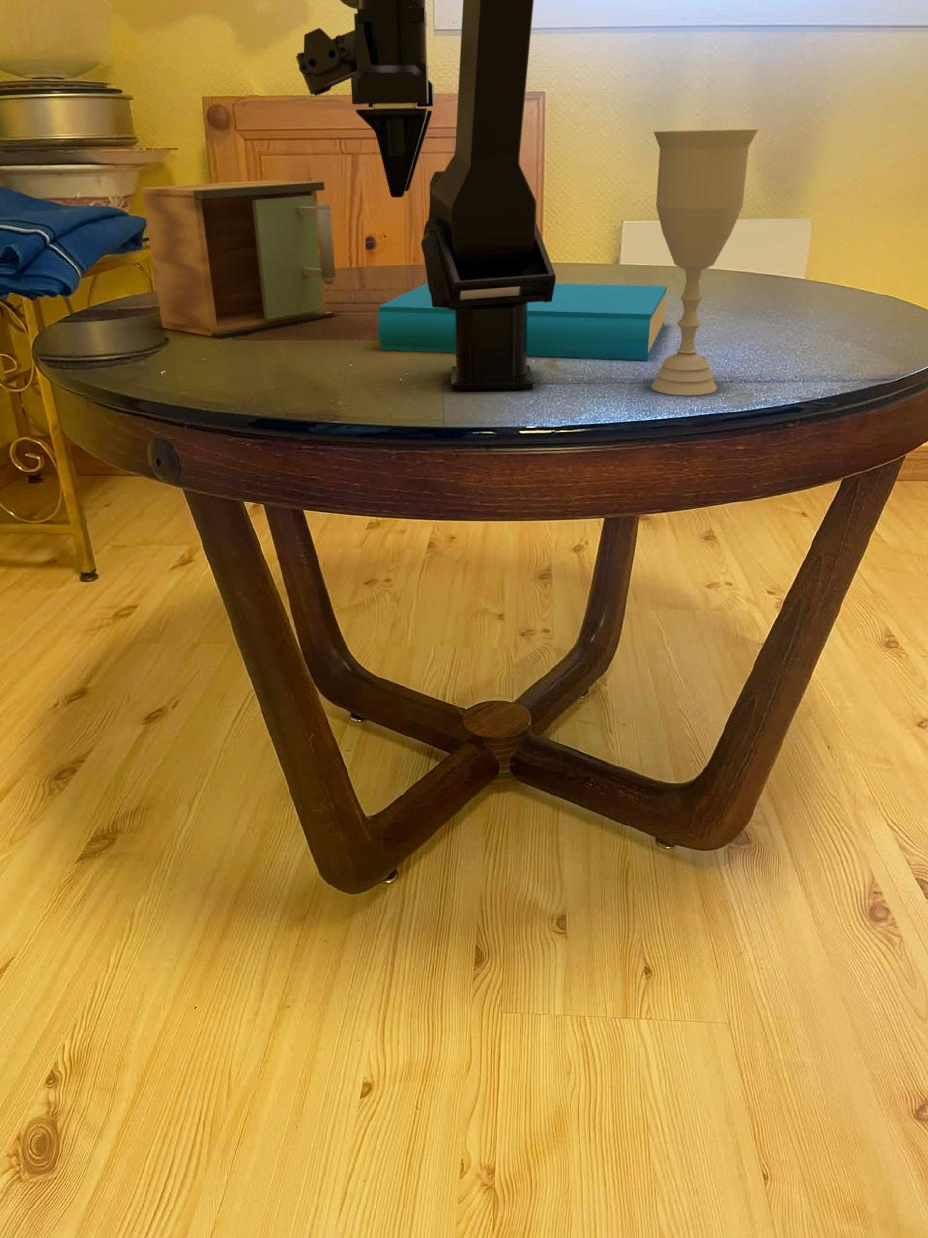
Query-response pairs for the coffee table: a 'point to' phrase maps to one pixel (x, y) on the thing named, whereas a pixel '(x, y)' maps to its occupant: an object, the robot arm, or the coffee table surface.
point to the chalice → (697, 230)
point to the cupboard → (214, 255)
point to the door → (293, 253)
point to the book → (542, 322)
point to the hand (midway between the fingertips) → (400, 193)
